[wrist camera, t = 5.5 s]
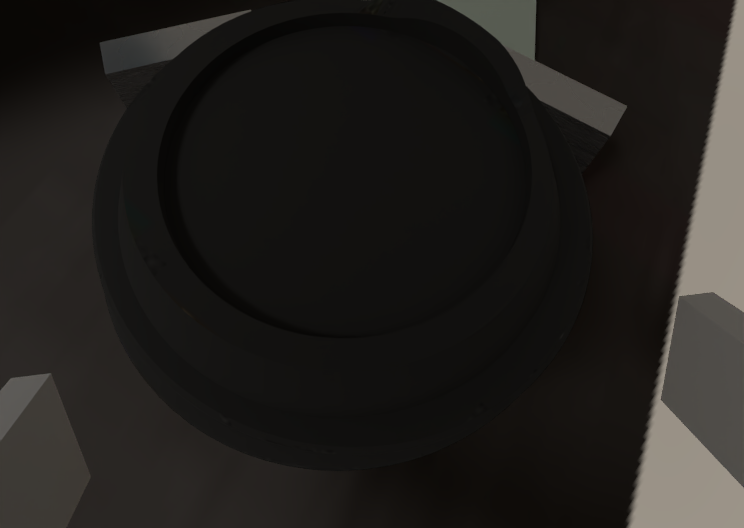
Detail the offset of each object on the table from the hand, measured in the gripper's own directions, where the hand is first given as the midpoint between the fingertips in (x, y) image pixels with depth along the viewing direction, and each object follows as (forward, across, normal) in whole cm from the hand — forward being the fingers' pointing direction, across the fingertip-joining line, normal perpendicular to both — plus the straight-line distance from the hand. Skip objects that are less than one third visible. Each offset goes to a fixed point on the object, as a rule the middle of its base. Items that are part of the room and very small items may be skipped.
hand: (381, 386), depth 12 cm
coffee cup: (+9, 0, -5) cm, 11 cm away
